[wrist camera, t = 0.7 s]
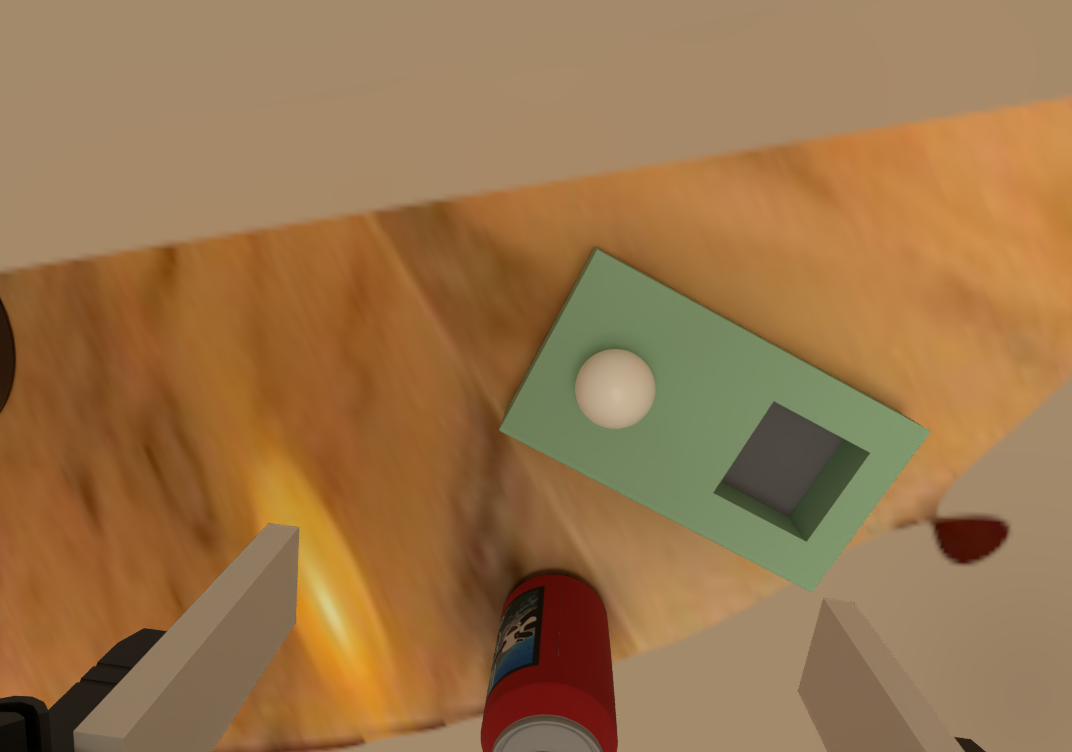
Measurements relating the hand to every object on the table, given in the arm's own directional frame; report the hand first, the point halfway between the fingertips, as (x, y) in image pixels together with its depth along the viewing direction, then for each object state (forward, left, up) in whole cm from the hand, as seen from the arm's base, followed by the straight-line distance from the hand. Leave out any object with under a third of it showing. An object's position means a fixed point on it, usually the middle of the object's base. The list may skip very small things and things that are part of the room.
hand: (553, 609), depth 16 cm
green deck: (+8, +2, -22) cm, 24 cm away
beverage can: (+7, -14, -23) cm, 27 cm away
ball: (+2, +2, -17) cm, 17 cm away
